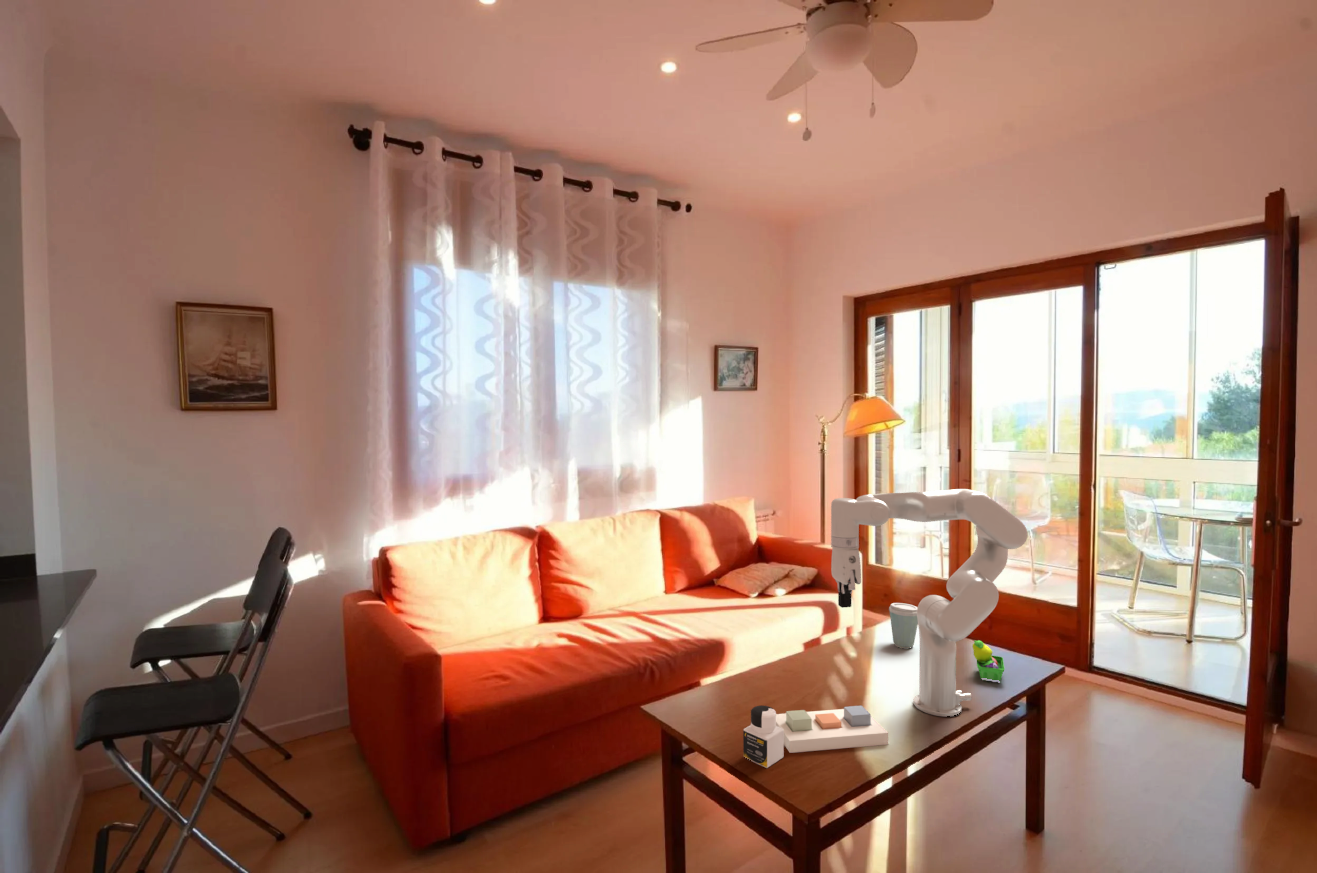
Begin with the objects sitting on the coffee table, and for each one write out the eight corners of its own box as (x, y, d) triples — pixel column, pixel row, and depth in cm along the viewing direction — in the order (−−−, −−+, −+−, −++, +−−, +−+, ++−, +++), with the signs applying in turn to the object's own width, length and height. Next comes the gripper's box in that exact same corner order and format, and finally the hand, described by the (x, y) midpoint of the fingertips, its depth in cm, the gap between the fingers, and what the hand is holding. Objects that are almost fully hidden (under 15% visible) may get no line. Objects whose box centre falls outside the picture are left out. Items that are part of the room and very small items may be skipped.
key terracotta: (833, 727, 167) (833, 713, 167) (841, 737, 162) (841, 722, 162) (815, 729, 167) (815, 714, 166) (822, 738, 162) (822, 723, 162)
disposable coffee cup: (898, 638, 235) (898, 598, 234) (926, 646, 227) (926, 605, 226) (882, 645, 228) (883, 604, 228) (911, 654, 220) (911, 611, 219)
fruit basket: (1004, 686, 193) (1005, 649, 193) (972, 681, 197) (972, 645, 197) (1002, 672, 204) (1002, 637, 203) (972, 668, 207) (972, 634, 207)
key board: (862, 718, 173) (862, 707, 173) (888, 744, 159) (888, 732, 159) (771, 725, 170) (771, 714, 169) (789, 752, 156) (789, 740, 156)
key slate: (861, 720, 168) (861, 705, 168) (870, 729, 163) (870, 714, 163) (843, 721, 168) (843, 706, 168) (852, 730, 163) (852, 715, 163)
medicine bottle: (742, 757, 154) (742, 709, 153) (760, 746, 159) (760, 699, 158) (766, 769, 149) (766, 718, 148) (784, 757, 154) (784, 708, 153)
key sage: (804, 724, 166) (804, 709, 166) (811, 734, 161) (811, 718, 161) (786, 726, 165) (786, 711, 165) (792, 735, 160) (792, 720, 160)
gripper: (869, 547, 172) (869, 613, 172) (845, 536, 186) (845, 598, 187) (843, 548, 171) (843, 615, 171) (821, 537, 185) (821, 599, 186)
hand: (844, 606), depth 179 cm, fingers closed
